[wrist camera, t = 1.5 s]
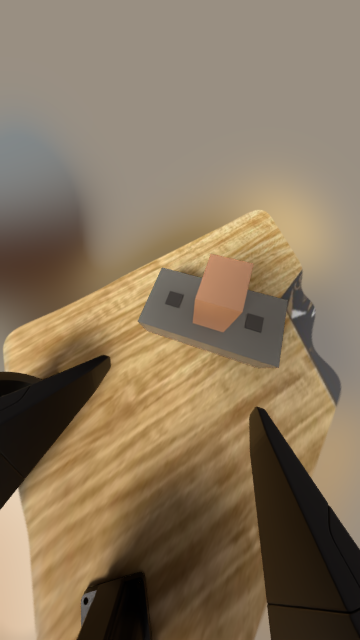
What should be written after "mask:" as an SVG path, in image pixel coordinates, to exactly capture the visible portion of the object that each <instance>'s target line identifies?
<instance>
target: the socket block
mask: <svg viewBox="0 0 360 640" xmlns="http://www.w3.org/2000/svg"><path fill="white" fill-rule="evenodd" d="M201 281H202V278H200V277H196V276H193V275H189V274H185V273H181V272H177V271H173V270H170V269H166V268H162V269H161V271H160V273H159V275H158V278H157V280H156V282H155V284H154V286H153V289H152V291H151V293H150V295H149V297H148V300H147V302H146V304H145V306H144V308H143V311H142V313H141V315H140V317H139V320H138V322H139V323H140V324H141V325H142V326H143V327H144V328H145V329H146V330H147V331H149V332H152V333H155V334H158V335H161V336H164V337H167V338H170V339H173V340H176V341H179V342H182V343H185V344H188V345H191V346H194V347H197V348H200V349H203V350H206V351H209V352H212V353H215V354H218V355H221V356H224V357H227V358H230V359H233V360H236V361H239V362H242V363H245V364H248V365H251V366H254V367H257V368H279V362H280V355H281V347H282V340H283V332H284V324H285V317H286V309H287V302H288V300H285V299H281V298H277V297H273V296H269V295H265V294H262V293H258V292H254V291H250V290H247V295H246V299H245V303H244V308H243V312H242V313H241V314H240V315H239V316H238V318H237V319H236V320H235V321H234V322H233V323H232V324H231V325H230V326H229V327H228V328H227V329H226V330H225V331H224V332H220V331H217V330H213V329H210V328H207V327H204V326H201V325H197V324H194V323H193V314H194V305H195V298H196V295H197V292H198V289H199V286H200V283H201Z"/></svg>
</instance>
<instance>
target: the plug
mask: <svg viewBox="0 0 360 640" xmlns="http://www.w3.org/2000/svg"><path fill="white" fill-rule="evenodd" d="M252 269H253V263H249V262H244V261H240V260H236V259H232V258H227V257H223V256H219V255H214V254H210V257H209V260H208V263H207V266H206V269H205V272H204V275H203V278H202V281H201V283H200V286H199V289H198V292H197V295H196V298H195V305H194V314H193V323H194V324H197V325H201V326H204V327H207V328H210V329H213V330H217V331H220V332H224V331H225V330H226V329H227V328H228V327H229V326H230V325H231V324H232V323H233V322H234V321H235V320H236V319H237V318H238V316H239V315H240V314H241V313H242V312H243V308H244V303H245V299H246V295H247V290H248V286H249V282H250V277H251V273H252Z"/></svg>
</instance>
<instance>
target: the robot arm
mask: <svg viewBox="0 0 360 640" xmlns="http://www.w3.org/2000/svg"><path fill="white" fill-rule="evenodd" d="M110 367H111V362H110V357H109V356H107V355H101V356H99V357H97V358H94V359H92V360H89V361H87V362H85V363H82V364H80V365H77V366H75V367H73V368H70V369H68V370H65V371H63V372H61V373H58V374H56V375H53V376H51V377H49V378H46V379H44V380H41V381H39V382H37V383H34V384H32V385H29V386H27V387H25V388H22V389H20V390H17V391H15V392H12V393H10V394H7V395H5V396H2V397H0V509H1V508H2V507H3V506H4V504H5V503H6V502H7V501H8V499H9V498H10V497H11V496H12V494H13V493H14V492H15V490H16V489H17V488H18V487H19V486H20V485H21V483H22V482H23V481H24V479H25V478H26V477H27V476H28V474H29V473H30V472H31V471H32V469H33V468H34V467H35V466H36V464H37V463H38V462H39V461H40V459H41V458H42V457H43V456H44V454H45V453H46V452H47V451H48V449H49V448H50V447H51V446H52V444H53V443H54V442H55V441H56V439H57V438H58V437H59V436H60V434H61V433H62V432H63V431H64V430H65V428H66V427H67V426H68V425H69V423H70V422H71V421H72V420H73V418H74V417H75V416H76V415H77V413H78V412H79V411H80V410H81V408H82V407H83V406H84V405H85V403H86V402H87V401H88V400H89V398H90V397H91V396H92V395H93V393H94V392H95V391H96V389H97V388H98V386H99V385H100V383H101V382H102V380H103V379H104V377H105V376H106V374H107V373H108V371H109V369H110ZM249 429H250V456H251V465H252V474H253V483H254V492H255V500H256V509H257V518H258V527H259V536H260V544H261V553H262V562H263V571H264V580H265V588H266V597H267V603H268V605H267V607H268V616H269V625H270V634H271V640H360V549H359V548H358V546H357V545H356V543H355V542H354V540H353V539H352V538H351V536H350V535H349V533H348V532H347V530H346V529H345V527H344V526H343V525H342V523H341V522H340V520H339V519H338V517H337V516H336V514H335V513H334V511H333V510H332V508H331V507H330V506H329V505H328V503H327V501H326V500H325V498H324V497H323V495H322V494H321V492H320V491H319V489H318V488H317V486H316V485H315V483H314V482H313V480H312V479H311V477H310V476H309V474H308V473H307V471H306V470H305V468H304V467H303V465H302V464H301V462H300V461H299V459H298V458H297V456H296V455H295V453H294V452H293V451H292V449H291V448H290V446H289V445H288V443H287V442H286V440H285V439H284V437H283V436H282V434H281V433H280V431H279V430H278V428H277V427H276V425H275V424H274V422H273V421H272V419H271V418H270V416H269V415H268V413H267V412H266V411H265V409H263V408H260V407H255V409H254V410H253V411H252V413H251V414H250V417H249ZM138 581H141V583H139V582H138ZM86 597H87V598H88V599H87V598H86ZM76 640H152V635H151V626H150V617H149V608H148V599H147V590H146V581H145V575H144V574H143V573H142V572H139V573H136V574H132V575H129V576H126V577H123V578H119V579H116V580H113V581H110V582H106V583H103V584H100V585H97V586H93V587H90V588H88V589H86V591H85V592H84V594H83V597H82V599H81V630H80V632H79V634H78V637H77V639H76Z"/></svg>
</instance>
